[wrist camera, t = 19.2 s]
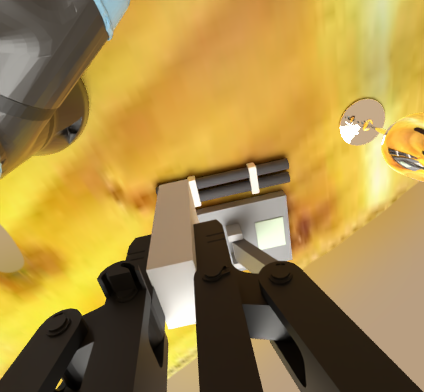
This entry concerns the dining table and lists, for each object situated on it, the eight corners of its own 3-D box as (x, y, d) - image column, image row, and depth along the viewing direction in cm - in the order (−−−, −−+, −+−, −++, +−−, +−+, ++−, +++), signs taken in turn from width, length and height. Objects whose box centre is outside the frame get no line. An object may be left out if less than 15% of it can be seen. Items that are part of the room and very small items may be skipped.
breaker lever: (230, 258, 53) (283, 299, 43) (226, 240, 51) (281, 278, 41) (242, 251, 54) (296, 290, 44) (238, 233, 52) (294, 269, 42)
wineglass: (394, 110, 48) (521, 145, 30) (365, 153, 51) (465, 208, 33) (357, 89, 46) (469, 113, 28) (328, 134, 49) (414, 183, 31)
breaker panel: (189, 275, 59) (190, 294, 54) (171, 215, 53) (170, 231, 48) (288, 253, 59) (298, 270, 54) (282, 190, 53) (292, 203, 48)
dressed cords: (163, 208, 52) (162, 214, 50) (155, 183, 50) (154, 189, 48) (287, 181, 52) (291, 185, 50) (284, 155, 50) (288, 159, 48)
